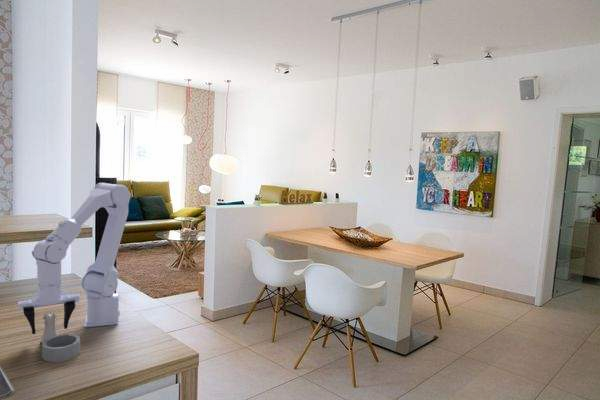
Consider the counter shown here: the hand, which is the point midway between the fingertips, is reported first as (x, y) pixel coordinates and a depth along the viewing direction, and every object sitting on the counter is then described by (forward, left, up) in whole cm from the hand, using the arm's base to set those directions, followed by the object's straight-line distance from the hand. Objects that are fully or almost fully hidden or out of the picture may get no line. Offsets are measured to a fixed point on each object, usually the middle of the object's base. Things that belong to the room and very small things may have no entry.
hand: (49, 330), depth 117 cm
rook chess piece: (0, 0, -3) cm, 3 cm away
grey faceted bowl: (-4, +9, -3) cm, 10 cm away
